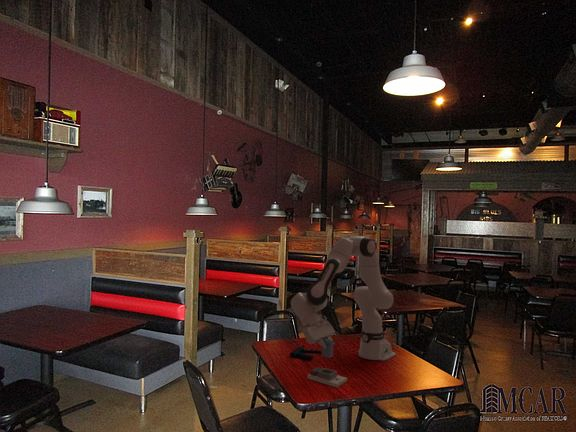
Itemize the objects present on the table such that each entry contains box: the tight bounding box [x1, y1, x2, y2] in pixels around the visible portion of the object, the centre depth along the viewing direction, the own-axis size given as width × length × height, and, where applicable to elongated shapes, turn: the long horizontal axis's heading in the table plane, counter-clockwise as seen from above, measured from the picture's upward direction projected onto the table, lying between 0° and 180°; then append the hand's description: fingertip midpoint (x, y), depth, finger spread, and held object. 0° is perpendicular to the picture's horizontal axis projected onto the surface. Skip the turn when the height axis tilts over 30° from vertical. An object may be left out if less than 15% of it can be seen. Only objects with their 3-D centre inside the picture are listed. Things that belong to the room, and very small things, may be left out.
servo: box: [321, 337, 336, 358], centre depth 192 cm, size 6×3×8 cm, turn 53°
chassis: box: [306, 367, 348, 388], centre depth 192 cm, size 16×10×4 cm, turn 53°
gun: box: [289, 344, 322, 362], centre depth 231 cm, size 24×3×15 cm
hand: (329, 346), depth 192 cm, fingers closed on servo, 3 cm apart
